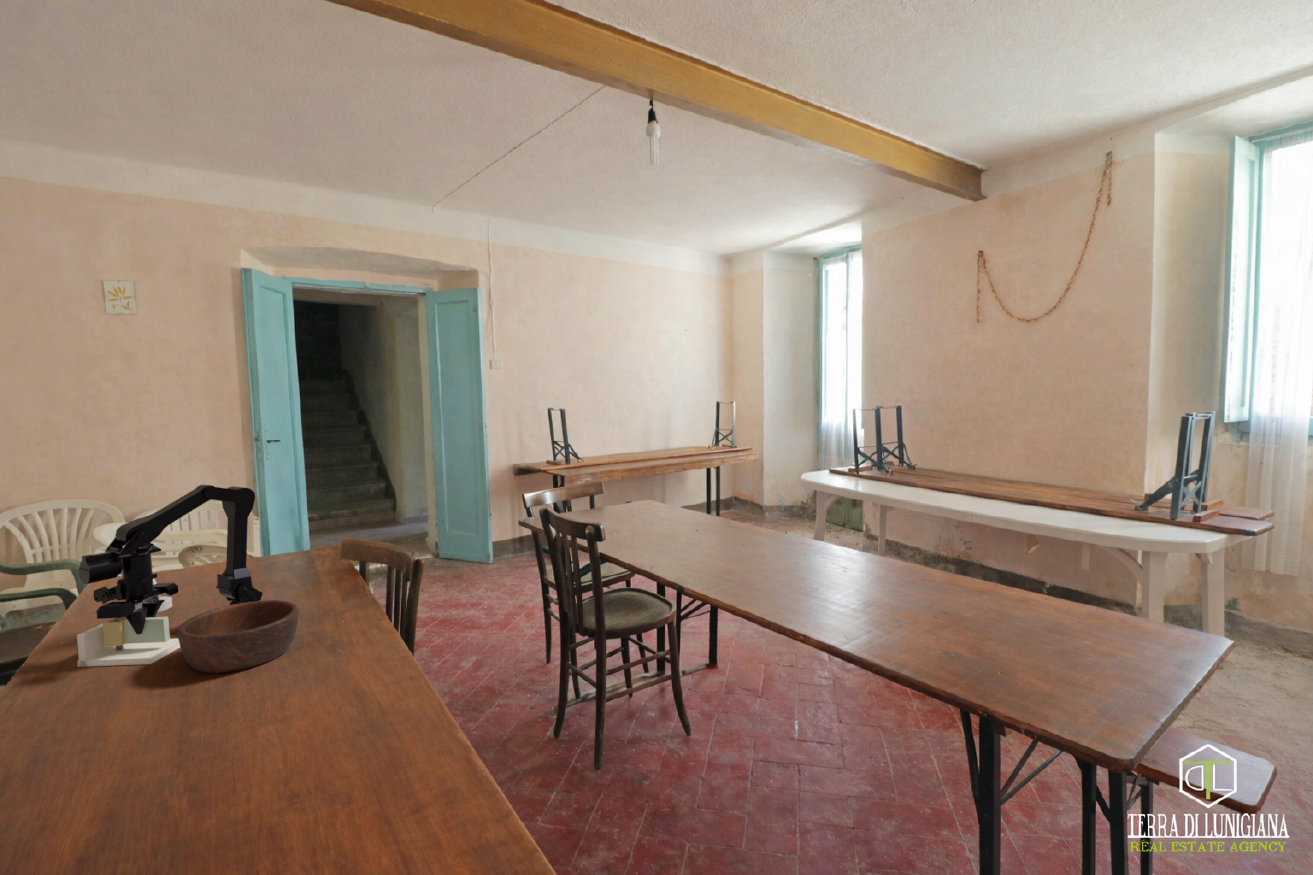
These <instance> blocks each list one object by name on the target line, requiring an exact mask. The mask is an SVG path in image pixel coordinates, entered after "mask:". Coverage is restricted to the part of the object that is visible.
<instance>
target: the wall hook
mask: <svg viewBox="0 0 1313 875" xmlns="http://www.w3.org/2000/svg"><path fill="white" fill-rule="evenodd" d="M157 583H158V582H157V581H156V578H154V579H153V585H154V584H157ZM161 595H162V594H161ZM161 595H158V597H159V600H165V601H164V602H163V603H162V605H161V606H160V608H159V610H158V612H157V613H160V612H163V611H166V610H169V609H171V608H172V607H173V598H172V596H161Z"/></svg>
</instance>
